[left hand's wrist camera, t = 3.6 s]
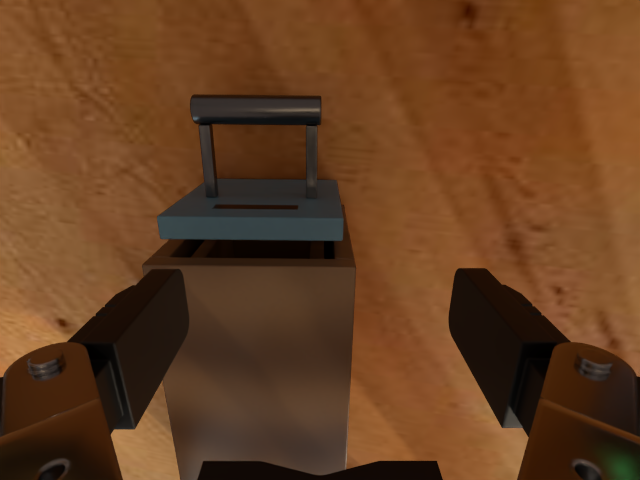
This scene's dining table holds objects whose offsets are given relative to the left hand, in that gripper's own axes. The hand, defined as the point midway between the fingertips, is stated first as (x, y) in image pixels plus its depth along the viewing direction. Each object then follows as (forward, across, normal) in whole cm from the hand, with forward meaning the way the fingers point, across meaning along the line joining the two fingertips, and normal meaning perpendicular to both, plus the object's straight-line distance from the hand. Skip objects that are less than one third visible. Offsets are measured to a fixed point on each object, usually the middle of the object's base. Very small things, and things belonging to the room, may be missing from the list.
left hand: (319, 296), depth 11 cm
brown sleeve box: (+17, -3, -13) cm, 22 cm away
